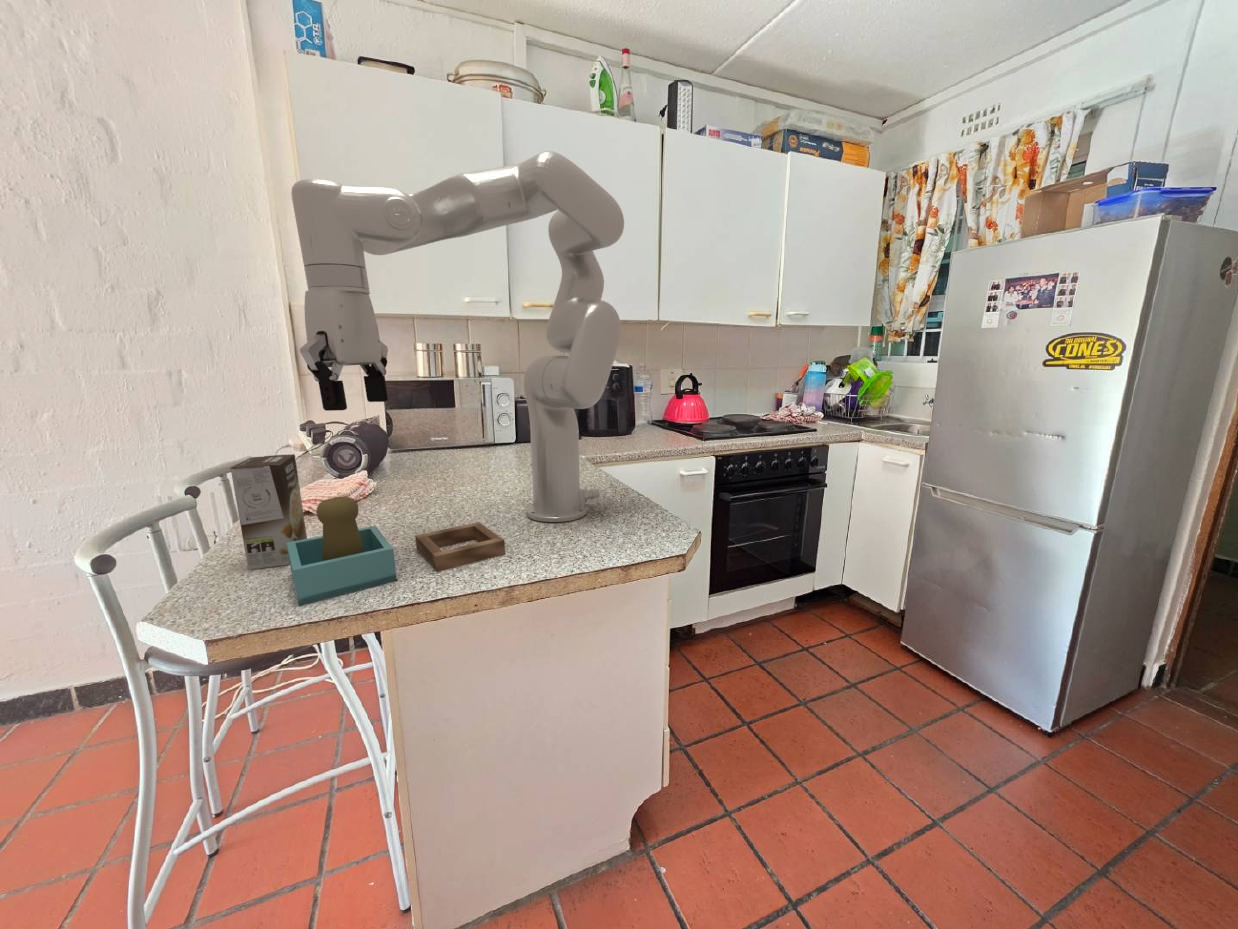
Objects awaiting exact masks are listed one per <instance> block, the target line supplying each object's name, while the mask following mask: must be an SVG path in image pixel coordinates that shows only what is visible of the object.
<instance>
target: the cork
mask: <svg viewBox="0 0 1238 929" xmlns="http://www.w3.org/2000/svg"><path fill="white" fill-rule="evenodd" d="M315 513H316V517H317V519H318V521H319V522H320V523H321V524H322V536H323V551H322V561H326V560H331V559H336V558H340V557H345V556H349V555H354V554H359V553H363V552H365V551H364V547H363V544H362V540H361V537H360V533H359V530H358V529H359V527H358V524H357V520H356V519H357V517H358V515H359V504H358V502H357V501H356V500H355V499H354V498H352V497H348V496H336V497H335V496H334V497H331V498H327V499H324V500H323V501H320V503H319V504H318V505H317V508H316V512H315Z"/></svg>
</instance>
